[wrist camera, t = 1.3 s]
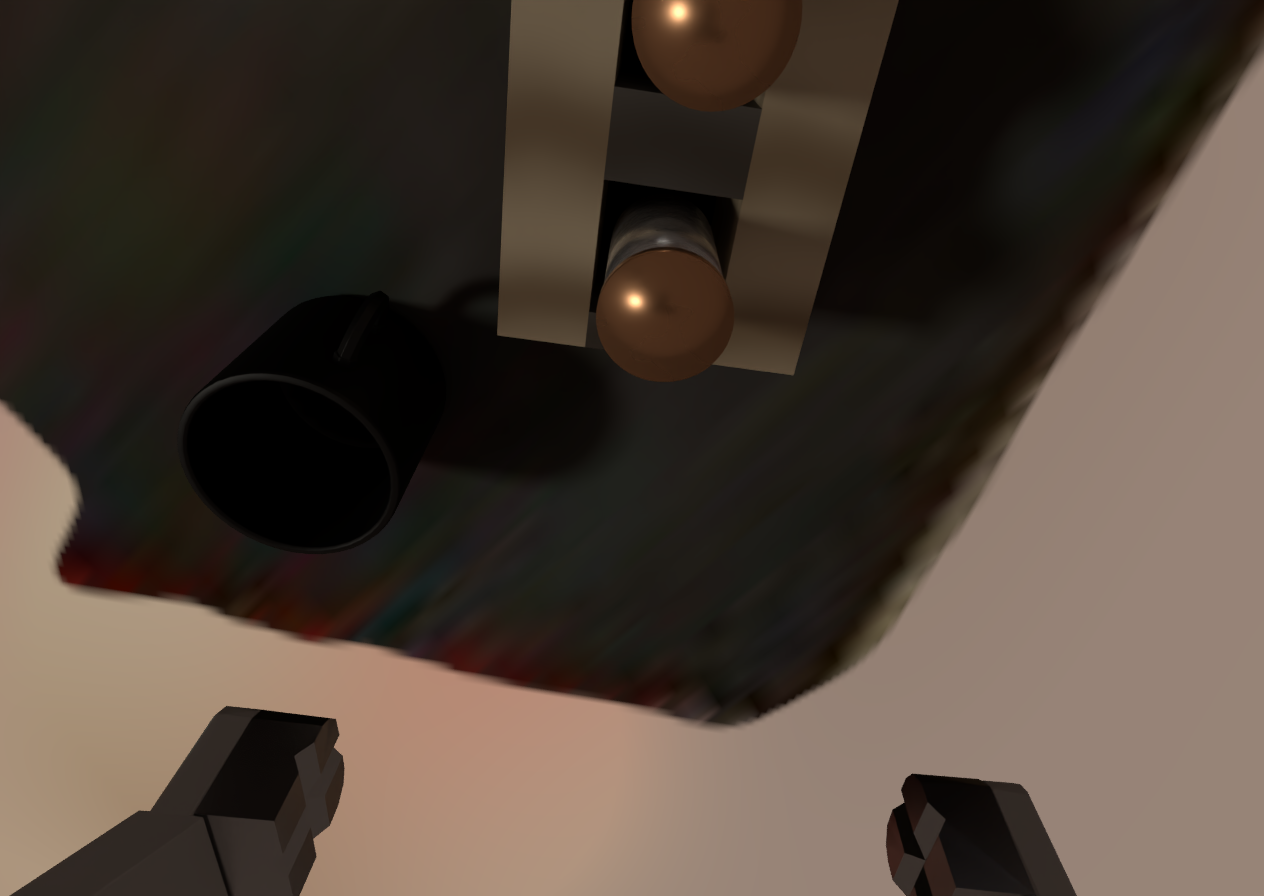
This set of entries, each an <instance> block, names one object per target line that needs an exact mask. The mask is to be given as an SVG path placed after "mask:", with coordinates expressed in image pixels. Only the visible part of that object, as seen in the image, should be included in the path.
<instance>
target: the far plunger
mask: <svg viewBox="0 0 1264 896" xmlns="http://www.w3.org/2000/svg"><path fill="white" fill-rule="evenodd" d="M596 325H597V331H598V335H599V338H600V341H601V343H602V345H603V347H604V349H605V351H606V352H607V353H608V355H609V356H610V358H611V359H612V360H613V361H614V362H615V363H616V364H617V365H619V366H620V367H621V368H622V369H624V370H625V371H627V372H629V373H630V374H632V375H634V376H637V377H639V378H642V379H645V380H650V381H656V382H672V381H679V380H683V379H686V378H689V377H692V376H694V375H697V374H698V373H700V372H702V371H704V370H705V369H706V368H708V367H709V366H710V365H712V364H713V363H714V362H715V361H716V360H717V359H718V358H719V356H720V355H721V354H722V353H723V351H724V349H725V348H726V346H727V344H728V342H729V340H730V338H731V334H732V331H733V326H734V306H733V301H732V297H731V294H730V290H729V288H728V285H727V283H726V281H725V279H724V278H723V274H722V270H721V266H720V262H719V258H718V254H717V250H716V246H715V242H714V237H713V233H712V230H711V226H710V224H709V222H708V220H707V218H706V217H705V215H704V214H703V212H702V211H701V210H700V209H699V208H698V207H697V206H696V205H695V204H693V203H692V202H690V201H689V200H687V199H685V198H683V197H680V196H677V195H673V194H664V193H663V194H653V195H649V196H646V197H643V198H641V199H639V200H637V201H635V202H634V203H632V204H631V205H630V206H629V207H627V208H626V209H625V210H624V212H623V213H622V214H621V215H620V217H619V218H618V220H617V222H616V224H615V226H614V229H613V232H612V237H611V243H610V250H609V256H608V262H607V268H606V275H605V281H604V285H603V287H602V289H601V292H600V295H599V299H598V304H597V310H596Z"/></svg>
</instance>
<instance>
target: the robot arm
mask: <svg viewBox="0 0 1264 896" xmlns="http://www.w3.org/2000/svg"><path fill="white" fill-rule="evenodd" d="M338 736H339V731H338V727H337V722H336V719H332V718H324V717H315V716H307V715H299V714H291V713H283V712H275V711H267V710H259V709H250V708H240V707H231V706H226V707H225V708H223V709H222V710H221V711H220V712H218V713H217V714H216V715H215V716H214V717H213V719H212V720H211V721H210V723H209V724H208V726H207V727H206V729H205V730H204V732H203V733H202V735H201V736H200V738H199V739H198V741H197V742H196V744H195V745H194V747H193V748H192V750H191V751H190V753H189V754H188V756H187V757H186V759H185V760H184V762H183V763H182V765H181V766H180V768H179V769H178V771H177V772H176V774H175V775H174V777H173V778H172V780H171V781H170V782H169V784H168V786H167V787H166V789H165V790H164V792H163V793H162V794H161V796H160V797H159V799H158V800H157V802H156V803H155V805H154V806H153V808H152V809H151V811H138V812H136V813H135V814H133V815H132V816H130V817H129V818H127V819H126V820H124V821H122V822H121V823H119V824H118V825H116V826H115V827H113V828H112V829H110V830H109V831H107V832H106V833H104V834H103V835H101V836H100V837H98V838H97V839H95V840H94V841H92V842H91V843H89V844H87V845H86V846H84V847H83V848H81V849H80V850H79V851H77V852H75V853H74V854H72V855H71V856H69V857H68V858H66V859H65V860H63V861H62V862H60V863H59V864H57V865H56V866H54V867H53V868H51V869H50V870H48V871H47V872H45V873H43V874H42V875H40V876H39V877H37V878H36V879H34V880H33V881H31V882H30V883H28V884H27V885H25V886H24V887H22V888H21V889H19V890H18V891H16V892H15V893H13V894H12V895H10V896H299V895H300V893H301V891H302V889H303V886H304V884H305V882H306V879H307V877H308V875H309V872H310V870H311V868H312V866H313V863H314V861H315V858H316V852H315V847H314V841H313V838H315V837H316V836H317V835H318V834H320V833H321V832H322V831H323V830H325V829H326V828H327V827H328V826H330V824H331V821H332V819H333V817H334V814H335V812H336V809H337V807H338V803H339V799H340V795H341V791H342V787H343V783H344V762H343V756H342V755H341V754H340V753H339V752H338V751H337V750H336V749H335V748H334V745H335V743H336V741H337V739H338ZM901 791H902V795H903V798H904V802H905V803H903V804H901V805H900V806H898V807H896V808H895V809H893V810H892V813H891V816H890V819H889V822H888V825H887V838H886V848H887V856H888V863H889V867H890V871H891V875H892V879H893V881H894V882H895V883H896V885H898V887H899V888H900V889H901V890H902V891H903V892H904V894H905V895H906V896H1077V895H1076V893H1075V891H1074V889H1073V887H1072V885H1071V883H1070V881H1069V878H1068V876H1067V874H1066V872H1065V870H1064V868H1063V866H1062V864H1061V862H1060V860H1059V858H1058V855H1057V853H1056V851H1055V849H1054V847H1053V845H1052V843H1051V841H1050V839H1049V836H1048V834H1047V832H1046V830H1045V828H1044V826H1043V824H1042V822H1041V820H1040V818H1039V815H1038V813H1037V811H1036V809H1035V807H1034V805H1033V803H1032V801H1031V799H1030V796H1029V794H1028V792H1027V791H1026V790H1025V789H1024V788H1023V787H1022V786H1021V785H1020V784H1014V783H1005V782H993V781H981V780H979V779H971V778H958V777H945V776H933V775H921V774H911V775H910V776H908V777H907V778H906V779H905V782H904V784H903V787H902V789H901Z"/></svg>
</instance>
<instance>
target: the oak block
mask: <svg viewBox="0 0 1264 896" xmlns="http://www.w3.org/2000/svg"><path fill="white" fill-rule="evenodd" d="M898 1H899V0H802V21H801V27H800V33H799V36H798V40H797V44H796V46H795V49H794V51H793V54H792V56H791V58H790V60H789V62H788V64H787V65H786V67H785V69H784V70H783V72H782V73H781V74H780V76H779V77H778V78H777V80H776V81H775V82H774V83H773V84H772V85H771V86H770V87H769V88H768V89H767V90H766V91H764V92H763V93H762V94H761V95H759V96H758V97H756V98H755V99H754V100H752V101H750V102H748V103H746V104H744V105H742V106H739V107H736V108H733V109H730V110H725V111H715V112H708V111H699V110H695V109H690V108H688V107H685V106H683V105H680V104H678V103H677V102H675V101H673V100H671V99H670V98H669V97H667V96H666V95H665V94H663V93H662V92H661V91H660V90H659V89H658V88H657V87H656V86H655V85H654V83H653V82H652V81H651V79H650V78H649V77H648V75H647V73H646V72H645V70H644V68H643V67H636V66H630V65H623V64H622V63H623V54H624V45H625V37H626V28H627V20H628V11H629V2H630V0H512V6H511V29H510V52H509V75H508V98H507V121H506V144H505V168H504V191H503V214H502V237H501V260H500V283H499V306H498V329H497V335H499V336H506V337H514V338H521V339H529V340H536V341H543V342H551V343H558V344H566V345H573V346H581V347H588V348H595V349H603V350H605V349H604V347H603V345H602V343H601V341H600V338H599V335H598V331H597V325H596V310H597V304H598V299H599V295H600V292H601V289H602V287H603V285H604V281H605V275H606V268H607V262H608V256H609V251H607V250H601V244H602V235H603V227H604V218H605V209H606V201H607V192H608V184H609V180H611V181H617V182H624V183H631V184H638V185H645V186H651V187H658V188H665V189H672V190H679V191H685V192H692V193H699V194H706V195H713V196H717V197H716V202H715V207H714V212H713V217H712V223H711V230H712V233H713V237H714V242H715V246H716V250H717V254H718V258H719V262H720V266H721V270H722V274H723V278H724V279H725V281H726V283H727V285H728V288H729V290H730V294H731V297H732V301H733V306H734V326H733V331H732V334H731V338H730V340H729V342H728V344H727V346H726V348H725V349H724V351H723V353H722V354H721V355H720V356H719V358H718V359H717V360H716V361H715V362H714V363H713V364H714V365H721V366H729V367H736V368H744V369H751V370H758V371H766V372H773V373H781V374H788V375H794V371H795V368H796V364H797V360H798V357H799V353H800V350H801V346H802V343H803V339H804V336H805V332H806V328H807V325H808V321H809V318H810V314H811V311H812V307H813V304H814V300H815V296H816V293H817V289H818V286H819V282H820V279H821V275H822V272H823V268H824V264H825V261H826V257H827V254H828V250H829V247H830V243H831V240H832V236H833V232H834V229H835V225H836V222H837V218H838V215H839V211H840V208H841V204H842V200H843V197H844V193H845V190H846V186H847V183H848V179H849V176H850V172H851V168H852V165H853V161H854V158H855V154H856V151H857V147H858V144H859V140H860V136H861V133H862V129H863V126H864V122H865V119H866V115H867V112H868V108H869V104H870V101H871V97H872V94H873V90H874V87H875V83H876V79H877V76H878V72H879V69H880V65H881V62H882V58H883V55H884V51H885V47H886V44H887V40H888V37H889V33H890V30H891V26H892V23H893V19H894V15H895V12H896V8H897V5H898Z"/></svg>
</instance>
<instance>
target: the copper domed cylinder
mask: <svg viewBox="0 0 1264 896" xmlns="http://www.w3.org/2000/svg"><path fill="white" fill-rule="evenodd" d="M801 21H802V0H633V5H632V33H633V39H634V45H635V48H636V51H637V55H638V57H639V60H640V62H641V64H642V67H643V68H644V70H645V72H646V73H647V75H648V77H649V78H650V79H651V81H652V82H653V83H654V85H655V86H656V87H657V88H658V89H659V90H660V91H661V92H662V93H663V94H665V95H666V96H667V97H669V98H670V99H671V100H673V101H675V102H677V103H678V104H680V105H683V106H685V107H688V108H690V109H695V110H699V111H708V112H715V111H725V110H730V109H733V108H736V107H739V106H742V105H744V104H746V103H748V102H750V101H752V100H754V99H755V98H756V97H758V96H759V95H761V94H762V93H763V92H764V91H766V90H767V89H768V88H769V87H770V86H771V85H772V84H773V83H774V82H775V81H776V80H777V78H778V77H779V76H780V74H781V73H782V72H783V70H784V69H785V67H786V65H787V64H788V62H789V60H790V58H791V56H792V54H793V51H794V49H795V46H796V44H797V40H798V36H799V33H800V27H801Z"/></svg>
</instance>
